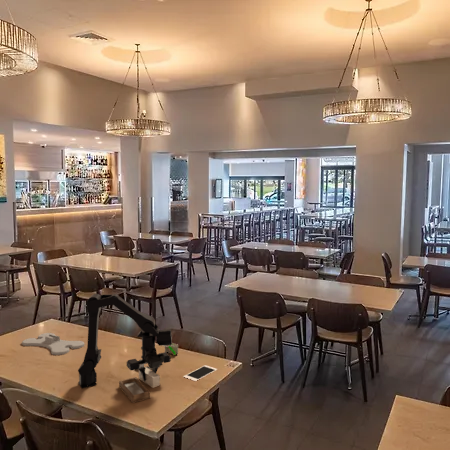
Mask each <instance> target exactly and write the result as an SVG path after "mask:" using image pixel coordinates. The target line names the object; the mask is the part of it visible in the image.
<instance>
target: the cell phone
mask: <svg viewBox="0 0 450 450" xmlns="http://www.w3.org/2000/svg"><path fill="white" fill-rule="evenodd" d="M216 371H218V368H215V367H212V366H209V365H207V364H206V365H202V366H201V367H199V368H197V369H194V370H193V371H191V372H189V373H187V374H184V375H183V376H182V377H183V378H184V377H185V379H187V378H188V380H190V379H191V380H190V381H193V382H198V381H199V379H200V380H201V379H203V378H205V377H207V376H209V375H211V374H212V373H214V372H216ZM210 373H211V374H210ZM197 380H198V381H197Z"/></svg>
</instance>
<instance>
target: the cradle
mask: <svg viewBox="0 0 450 450" xmlns="http://www.w3.org/2000/svg"><path fill="white" fill-rule="evenodd" d="M118 383H119V385H118V386H119V388H120V389H121V391H122V392H123V393H124V395H125V396H126V397H127V398H128V399H129V401H130V402H131V403H137V402H140V401H145V400H149V399H150V398H151V391H150V390H149V389H148V388H147V386H146V385H144V384H143V383H142V382H141V380H140V379H139V378H137V376H134V377H131V378H126V379H122V380H121V379H120V380H118Z"/></svg>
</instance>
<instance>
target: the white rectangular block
mask: <svg viewBox="0 0 450 450" xmlns="http://www.w3.org/2000/svg"><path fill="white" fill-rule="evenodd" d="M144 367H145V368H146V367H147V366H144ZM145 377H146V379H145V381H144V380H143V377H142V375H141V372H140V370H138V380H139V381H142V382H143V383H144V384H146V385H148V386H149V387H151V388H152V389H153V388H156V387H159V386H160V385H161V383H160V382H161V380H160V379H161V376H160V374H158V373H157V372H156V373H155V372H153V371H152V369H148V368H146V369H145Z"/></svg>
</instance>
